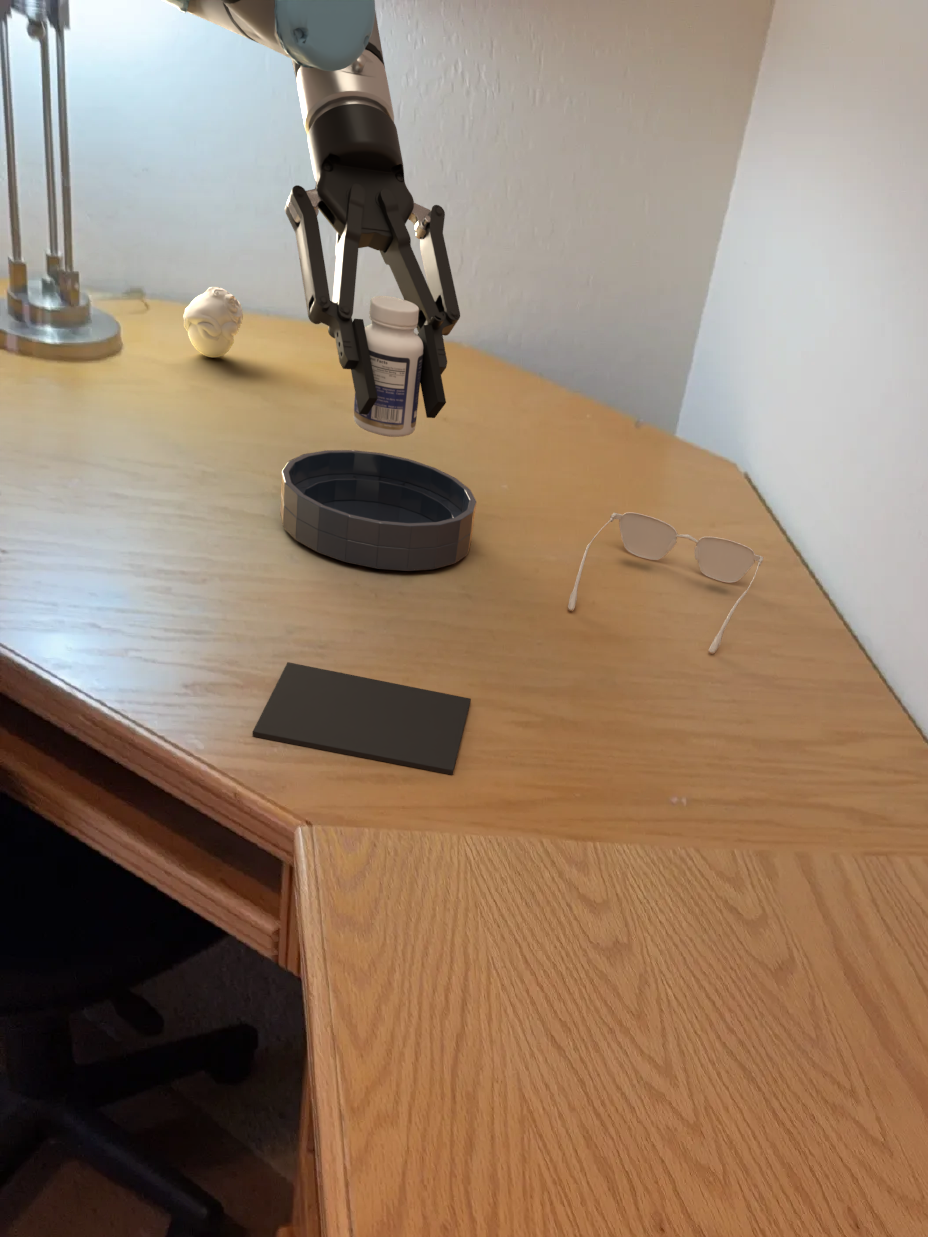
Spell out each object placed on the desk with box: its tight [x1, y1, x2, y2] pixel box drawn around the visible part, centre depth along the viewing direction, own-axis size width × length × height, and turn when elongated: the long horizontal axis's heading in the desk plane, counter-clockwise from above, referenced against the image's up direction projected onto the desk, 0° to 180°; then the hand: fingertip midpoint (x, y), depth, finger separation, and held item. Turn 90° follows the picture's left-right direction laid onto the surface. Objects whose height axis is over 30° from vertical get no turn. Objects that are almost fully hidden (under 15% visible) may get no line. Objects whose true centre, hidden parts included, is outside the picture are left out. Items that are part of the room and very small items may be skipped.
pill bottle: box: [353, 295, 423, 438], centre depth 109 cm, size 5×5×10 cm
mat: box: [252, 661, 472, 776], centre depth 93 cm, size 14×11×1 cm
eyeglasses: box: [567, 511, 764, 655], centre depth 119 cm, size 15×18×4 cm
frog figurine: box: [182, 286, 244, 358], centre depth 145 cm, size 6×7×7 cm
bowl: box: [279, 449, 477, 572], centre depth 117 cm, size 17×17×4 cm
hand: (402, 407), depth 108 cm, fingers closed on pill bottle, 5 cm apart
